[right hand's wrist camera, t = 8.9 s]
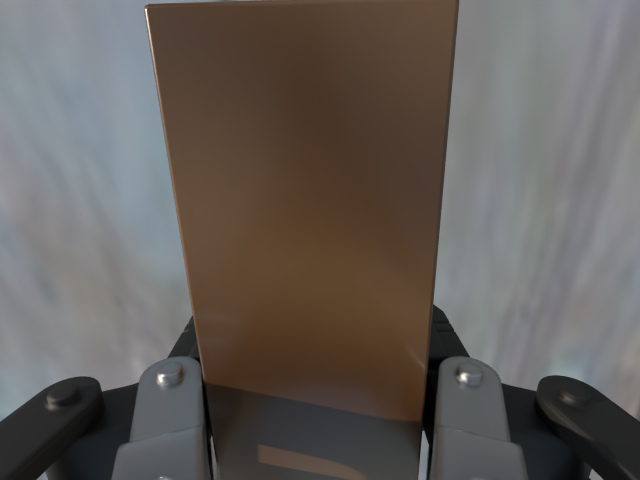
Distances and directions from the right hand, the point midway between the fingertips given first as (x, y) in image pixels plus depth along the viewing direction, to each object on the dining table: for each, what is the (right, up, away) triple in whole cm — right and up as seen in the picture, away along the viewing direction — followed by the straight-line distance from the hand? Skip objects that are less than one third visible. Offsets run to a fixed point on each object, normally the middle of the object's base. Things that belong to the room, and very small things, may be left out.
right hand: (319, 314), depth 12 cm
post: (+1, -26, +11) cm, 28 cm away
